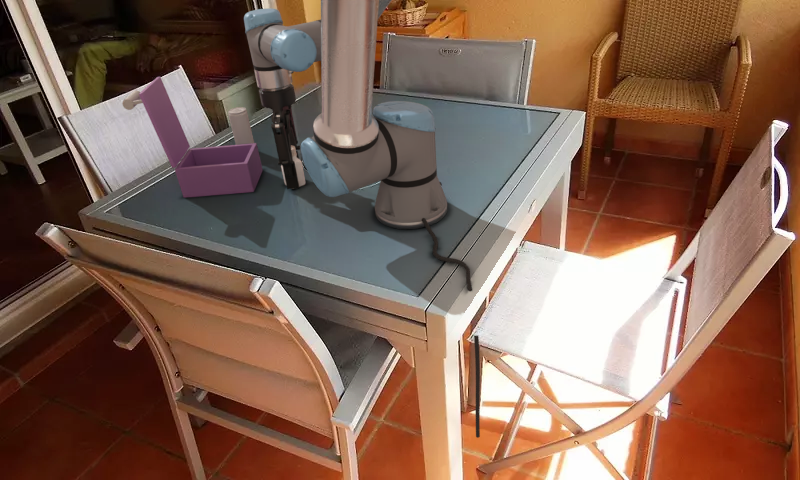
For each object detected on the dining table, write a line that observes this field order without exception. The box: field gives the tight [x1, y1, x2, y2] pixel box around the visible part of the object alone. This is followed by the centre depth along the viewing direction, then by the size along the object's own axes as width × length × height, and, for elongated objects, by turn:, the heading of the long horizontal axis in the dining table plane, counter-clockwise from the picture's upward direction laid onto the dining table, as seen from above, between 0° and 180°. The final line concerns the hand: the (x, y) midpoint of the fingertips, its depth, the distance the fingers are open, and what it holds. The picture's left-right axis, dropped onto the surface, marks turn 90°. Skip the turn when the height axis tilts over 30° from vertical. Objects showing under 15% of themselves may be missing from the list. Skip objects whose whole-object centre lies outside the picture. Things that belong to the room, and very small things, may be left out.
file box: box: [174, 142, 264, 198], centre depth 139 cm, size 17×12×7 cm
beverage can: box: [227, 106, 255, 145], centre depth 153 cm, size 5×5×12 cm
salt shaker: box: [280, 145, 307, 188], centre depth 134 cm, size 4×4×10 cm
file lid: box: [121, 76, 191, 169], centre depth 132 cm, size 18×12×7 cm
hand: (294, 182), depth 137 cm, fingers closed on salt shaker, 5 cm apart
